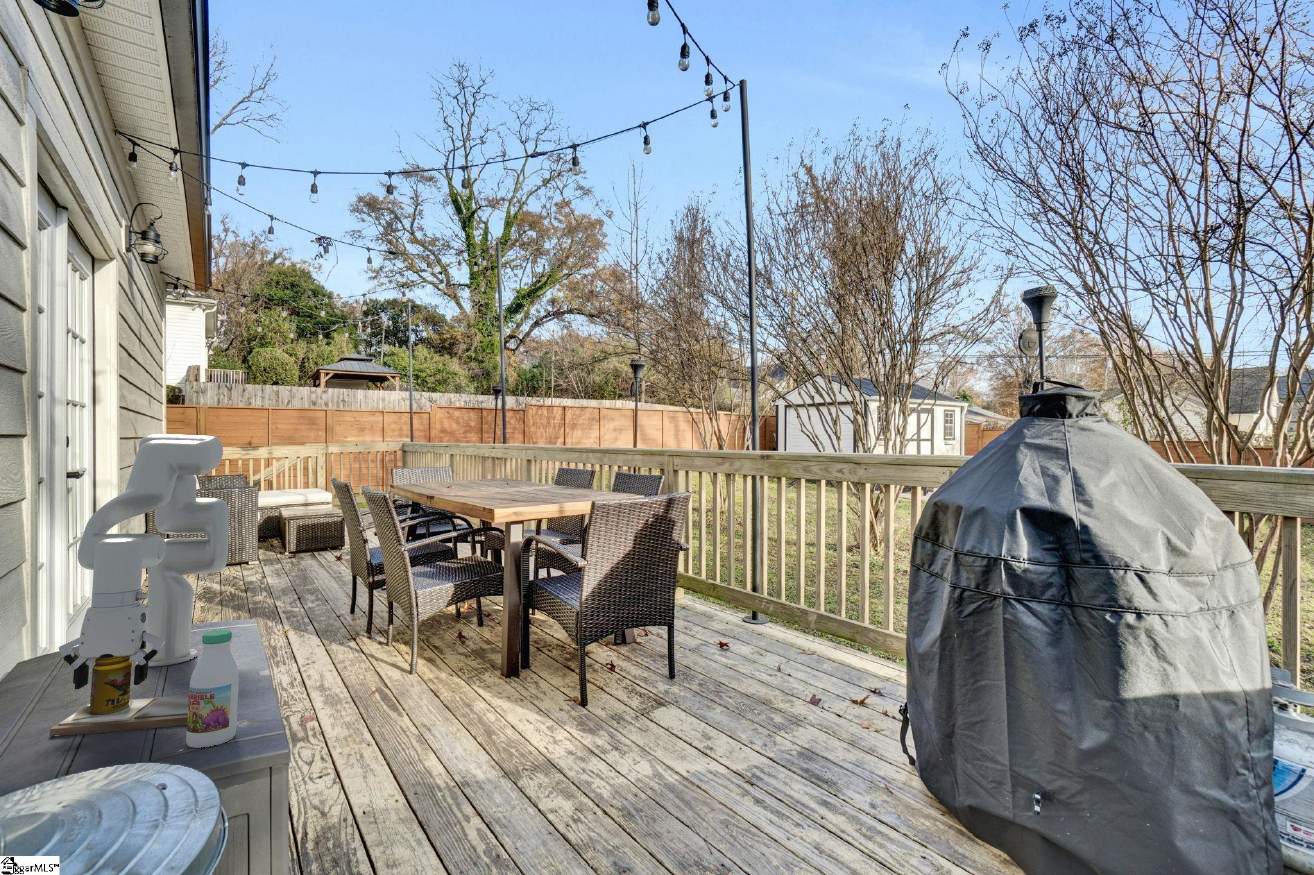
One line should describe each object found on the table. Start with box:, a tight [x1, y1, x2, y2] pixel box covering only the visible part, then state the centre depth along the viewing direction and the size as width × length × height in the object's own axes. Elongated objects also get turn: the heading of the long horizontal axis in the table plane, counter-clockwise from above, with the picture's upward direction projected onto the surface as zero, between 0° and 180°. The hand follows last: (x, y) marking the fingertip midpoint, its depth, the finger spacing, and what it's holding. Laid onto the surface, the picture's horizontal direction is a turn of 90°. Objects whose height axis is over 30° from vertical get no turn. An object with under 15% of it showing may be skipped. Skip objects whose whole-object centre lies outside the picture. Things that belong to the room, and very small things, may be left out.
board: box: [49, 694, 189, 737], centre depth 127 cm, size 14×24×2 cm, turn 108°
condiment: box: [72, 654, 134, 720], centre depth 125 cm, size 7×8×12 cm
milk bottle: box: [185, 629, 240, 749], centre depth 117 cm, size 8×8×20 cm
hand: (110, 685), depth 125 cm, fingers open, 9 cm apart
